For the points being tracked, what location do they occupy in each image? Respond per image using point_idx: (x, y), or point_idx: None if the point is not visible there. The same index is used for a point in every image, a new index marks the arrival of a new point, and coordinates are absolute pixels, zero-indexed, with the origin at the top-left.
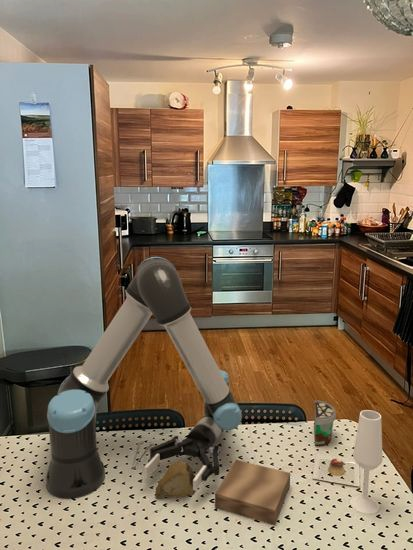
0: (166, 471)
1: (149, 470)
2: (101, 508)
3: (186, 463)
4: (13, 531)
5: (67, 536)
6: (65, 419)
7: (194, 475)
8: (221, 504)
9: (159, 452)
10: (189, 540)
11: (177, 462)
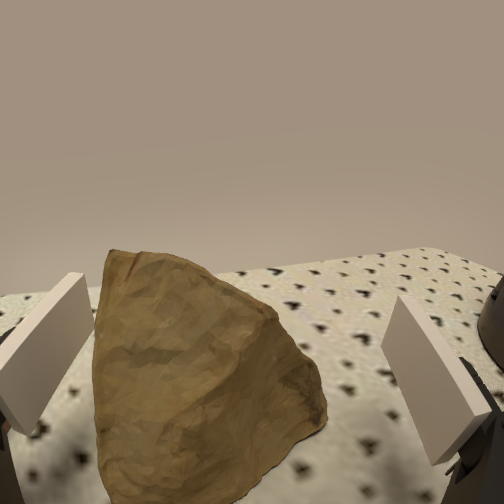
0: (285, 330)
1: (397, 341)
2: None
3: (116, 250)
4: (450, 257)
5: (384, 263)
6: None
7: (98, 449)
8: None
9: (494, 436)
10: None
11: (200, 266)
